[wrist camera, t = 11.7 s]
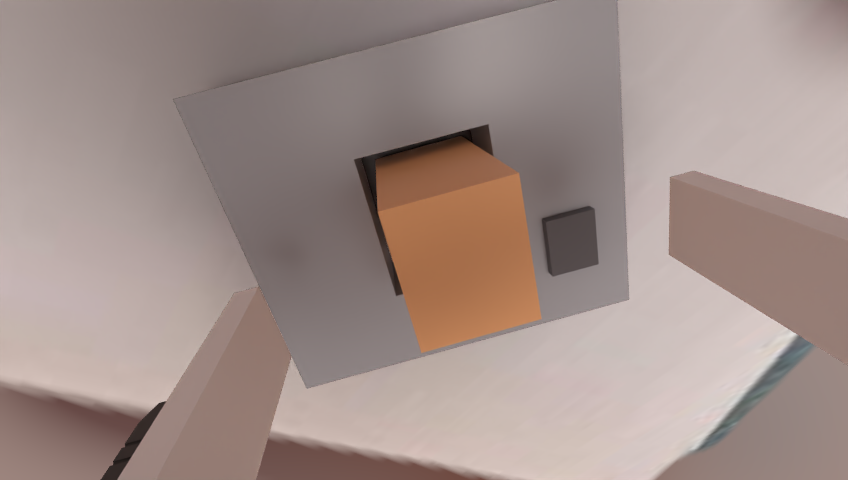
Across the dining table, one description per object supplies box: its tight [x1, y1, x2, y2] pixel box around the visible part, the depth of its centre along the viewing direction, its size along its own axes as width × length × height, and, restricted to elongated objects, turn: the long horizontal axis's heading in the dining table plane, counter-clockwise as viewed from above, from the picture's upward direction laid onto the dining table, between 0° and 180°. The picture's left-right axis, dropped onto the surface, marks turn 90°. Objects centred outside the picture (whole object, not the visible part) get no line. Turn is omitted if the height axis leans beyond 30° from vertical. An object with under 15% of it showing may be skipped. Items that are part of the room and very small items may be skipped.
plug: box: [375, 136, 542, 353], centre depth 18 cm, size 5×4×10 cm
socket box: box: [173, 0, 629, 388], centre depth 20 cm, size 15×18×4 cm
